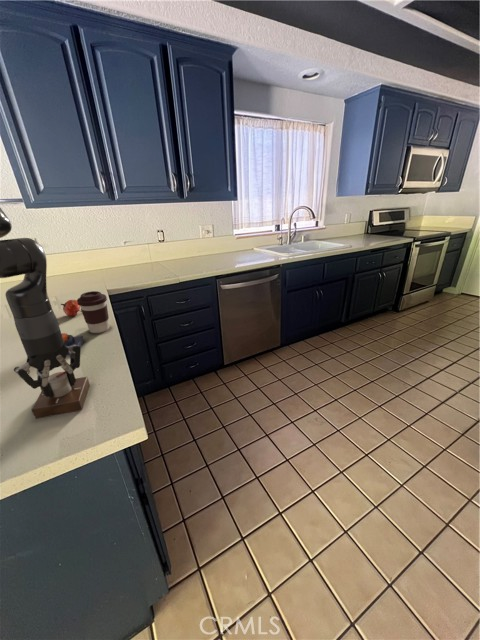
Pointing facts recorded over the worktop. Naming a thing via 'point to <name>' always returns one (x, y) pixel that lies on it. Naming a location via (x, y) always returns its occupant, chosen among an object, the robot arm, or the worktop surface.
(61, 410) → the panel
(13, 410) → the worktop surface
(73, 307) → the pomegranate
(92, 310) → the coffee cup
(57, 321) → the robot arm
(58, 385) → the dial
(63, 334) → the button
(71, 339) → the button box
